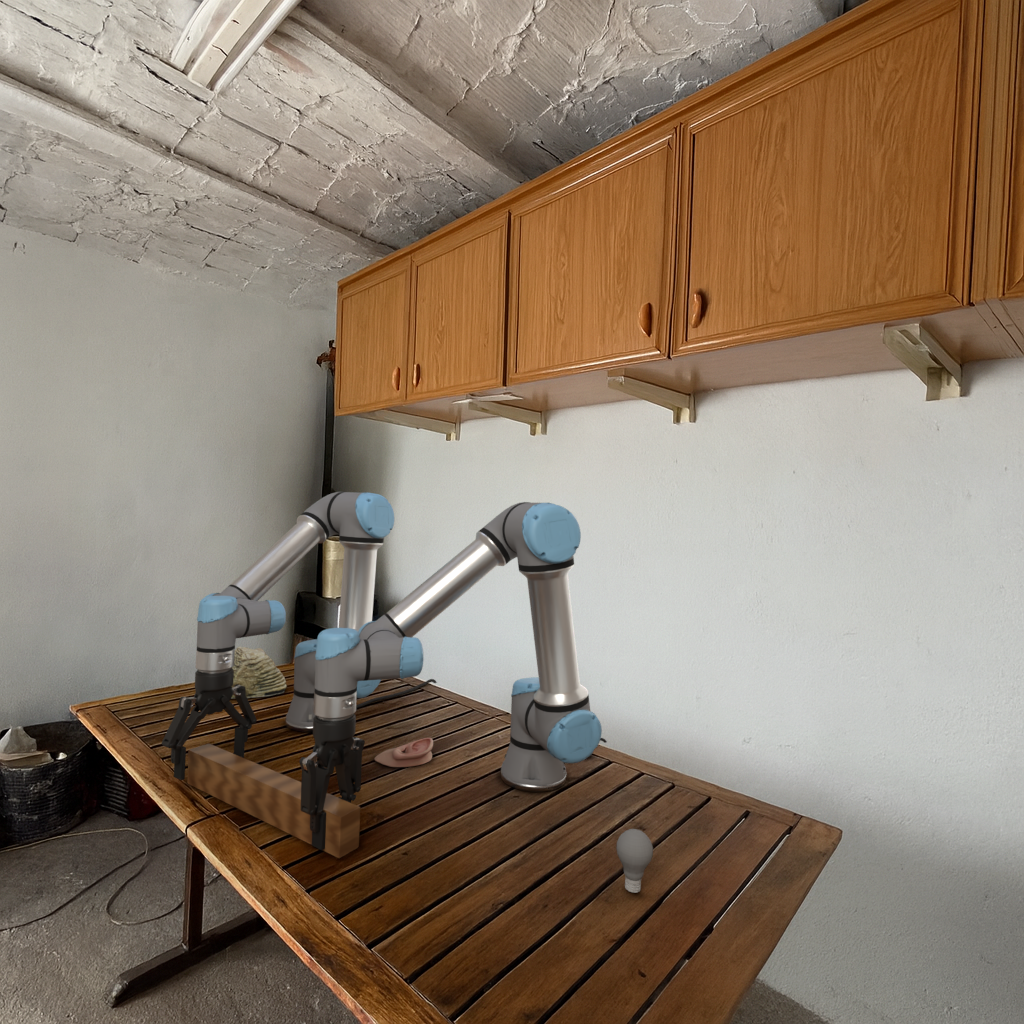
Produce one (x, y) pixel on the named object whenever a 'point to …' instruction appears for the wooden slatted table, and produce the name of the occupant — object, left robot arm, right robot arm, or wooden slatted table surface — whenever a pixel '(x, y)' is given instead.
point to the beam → (271, 797)
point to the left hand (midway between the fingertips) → (210, 767)
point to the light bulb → (634, 857)
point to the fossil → (257, 673)
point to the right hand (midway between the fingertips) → (330, 840)
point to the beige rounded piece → (407, 754)
